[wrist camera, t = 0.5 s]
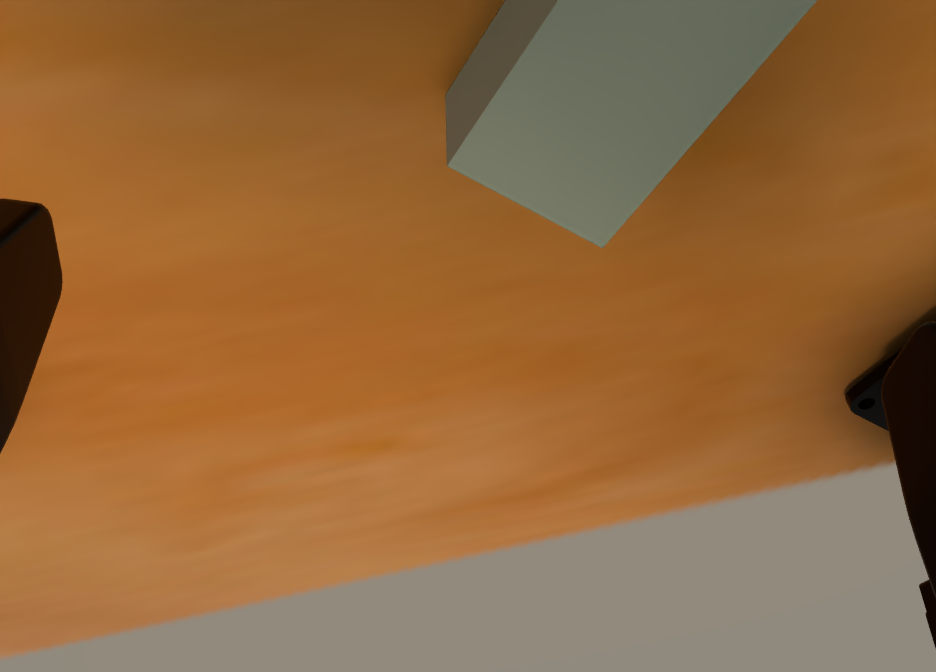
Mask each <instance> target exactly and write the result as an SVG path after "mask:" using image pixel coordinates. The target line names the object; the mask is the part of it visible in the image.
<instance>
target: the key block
mask: <svg viewBox="0 0 936 672" xmlns="http://www.w3.org/2000/svg"><path fill="white" fill-rule="evenodd" d="M816 1H817V0H505V2H504V3H503V5H502V6H501V8H500V10H499V11H498V13H497V14H496V16H495V17H494V19H493V21H492V22H491V24H490V25H489V27H488V29H487V30H486V32H485V33H484V35H483V36H482V38H481V40H480V41H479V43H478V44H477V46H476V48H475V49H474V51H473V52H472V54H471V55H470V57H469V59H468V60H467V62H466V63H465V65H464V67H463V68H462V70H461V71H460V73H459V74H458V76H457V78H456V79H455V81H454V82H453V84H452V86H451V87H450V89H449V90H448V92H447V94H446V95H445V102H446V142H447V166H448V167H450V168H452V169H454V170H455V171H457V172H459V173H461V174H463V175H465V176H467V177H469V178H471V179H473V180H474V181H476V182H478V183H480V184H482V185H484V186H486V187H488V188H490V189H491V190H493V191H495V192H497V193H499V194H501V195H503V196H505V197H507V198H508V199H510V200H512V201H514V202H516V203H518V204H520V205H522V206H524V207H525V208H527V209H529V210H531V211H533V212H535V213H537V214H539V215H541V216H543V217H544V218H546V219H548V220H550V221H552V222H554V223H556V224H558V225H560V226H561V227H563V228H565V229H567V230H569V231H571V232H573V233H575V234H577V235H578V236H580V237H582V238H584V239H586V240H588V241H590V242H592V243H594V244H595V245H597V246H599V247H601V248H603V247H604V246H605V245H606V244H607V243H608V241H609V240H610V239H611V238H612V237H613V236H614V234H615V233H616V232H617V231H618V230H619V229H620V228H621V226H622V225H623V224H624V223H625V222H626V221H627V219H628V218H629V217H630V216H631V215H632V214H633V213H634V211H635V210H636V209H637V208H638V207H639V206H640V204H641V203H642V202H643V201H644V200H645V199H646V198H647V196H648V195H649V194H650V193H651V192H652V191H653V189H654V188H655V187H656V186H657V185H658V184H659V183H660V181H661V180H662V179H663V178H664V177H665V176H666V174H667V173H668V172H669V171H670V170H671V169H672V168H673V166H674V165H675V164H676V163H677V162H678V161H679V159H680V158H681V157H682V156H683V155H684V154H685V153H686V151H687V150H688V149H689V148H690V147H691V146H692V144H693V143H694V142H695V141H696V140H697V139H698V137H699V136H700V135H701V134H702V133H703V132H704V131H705V129H706V128H707V127H708V126H709V125H710V124H711V122H712V121H713V120H714V119H715V118H716V117H717V116H718V114H719V113H720V112H721V111H722V110H723V109H724V107H725V106H726V105H727V104H728V103H729V102H730V101H731V99H732V98H733V97H734V96H735V95H736V94H737V92H738V91H739V90H740V89H741V88H742V87H743V86H744V84H745V83H746V82H747V81H748V80H749V79H750V77H751V76H752V75H753V74H754V73H755V72H756V71H757V69H758V68H759V67H760V66H761V65H762V64H763V62H764V61H765V60H766V59H767V58H768V57H769V56H770V54H771V53H772V52H773V51H774V50H775V49H776V47H777V46H778V45H779V44H780V43H781V42H782V41H783V39H784V38H785V37H786V36H787V35H788V34H789V32H790V31H791V30H792V29H793V28H794V27H795V25H796V24H797V23H798V22H799V21H800V20H801V19H802V17H803V16H804V15H805V14H806V13H807V12H808V10H809V9H810V8H811V7H812V6H813V5H814V4H815V2H816Z"/></svg>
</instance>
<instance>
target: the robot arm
mask: <svg viewBox="0 0 936 672" xmlns="http://www.w3.org/2000/svg"><path fill="white" fill-rule="evenodd" d="M61 291H62V270H61V265H60V259H59V254H58V249H57V243H56V238H55V233H54V227H53V222H52V218H51V215H50V213H49V211H48V209H47V208H46V207H45V206H43V205H42V204H40V203H34V202H27V201H19V200H12V199H0V453H1V451H2V449H3V447H4V445H5V443H6V441H7V439H8V437H9V435H10V432H11V430H12V428H13V426H14V424H15V421H16V419H17V416H18V414H19V411H20V409H21V406H22V403H23V401H24V398H25V395H26V392H27V389H28V386H29V384H30V381H31V378H32V375H33V372H34V370H35V367H36V364H37V361H38V358H39V355H40V353H41V350H42V347H43V344H44V341H45V339H46V336H47V333H48V330H49V327H50V325H51V322H52V319H53V316H54V313H55V310H56V308H57V305H58V302H59V299H60V296H61ZM845 398H846V402H847V404H848V406H849V408H850V410H851V411H852V412H853V413H854V414H856V415H858V416H860V417H862V418H864V419H866V420H868V421H870V422H872V423H874V424H876V425H878V426H880V427H882V428H884V429H886V430H888V431H889V433H890V438H891V442H892V447H893V451H894V456H895V460H896V465H897V469H898V474H899V478H900V483H901V487H902V492H903V496H904V500H905V504H906V508H907V512H908V516H909V520H910V523H911V526H912V529H913V532H914V536H915V539H916V542H917V545H918V548H919V551H920V553H921V556H922V559H923V562H924V565H925V568H926V571H927V574H928V577H929V580H927V581H925V582H923V583H921V584H920V585H919V588H920V591H921V594H922V598H923V601H924V604H925V608H926V611H927V612H926V618H927V621H928V624H929V628H930V631H931V634H932V637H933V641H934V644H935V648H936V321H929V322H925V323H923V324H921V325H920V326H919V327H917V328H916V330H915V331H914V332H913V334H912V335H911V337H910V338H909V340H908V341H907V343H906V344H905V346H904V347H903V348H902V349H901V350H900V351H898V352H897V353H896V354H895V355H893V356H892V357H891V358H890V359H888V360H887V361H886V362H884V363H883V364H882V365H881V366H879V367H878V368H877V369H876V370H874V371H873V372H872V373H871V374H869V375H868V376H867V377H865V378H864V379H863V380H862V381H860V382H859V383H858V384H857V385H855V386H854V387H853V388H852V389H850V391H849V392H848V393H847V394H846V397H845Z"/></svg>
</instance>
